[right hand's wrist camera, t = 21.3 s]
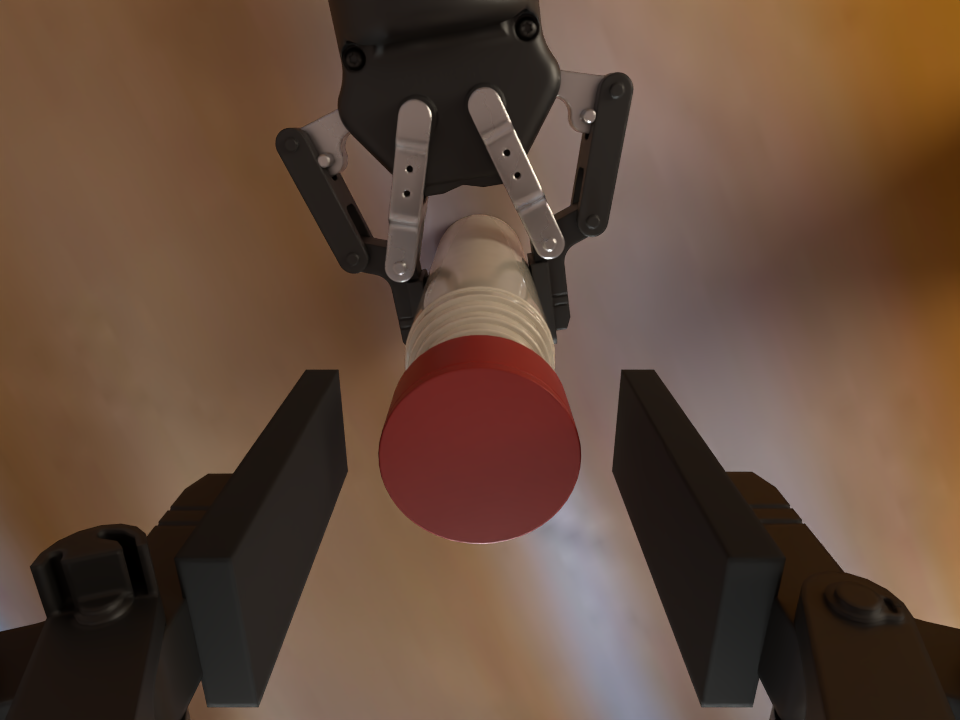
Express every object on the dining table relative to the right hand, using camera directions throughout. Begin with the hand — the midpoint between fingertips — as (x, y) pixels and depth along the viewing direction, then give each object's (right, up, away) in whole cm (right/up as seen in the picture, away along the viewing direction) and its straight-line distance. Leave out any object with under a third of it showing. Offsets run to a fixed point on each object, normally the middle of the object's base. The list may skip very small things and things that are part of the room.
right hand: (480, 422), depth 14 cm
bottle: (0, +7, +17) cm, 19 cm away
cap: (0, -1, -1) cm, 2 cm away
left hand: (0, +2, +13) cm, 13 cm away
